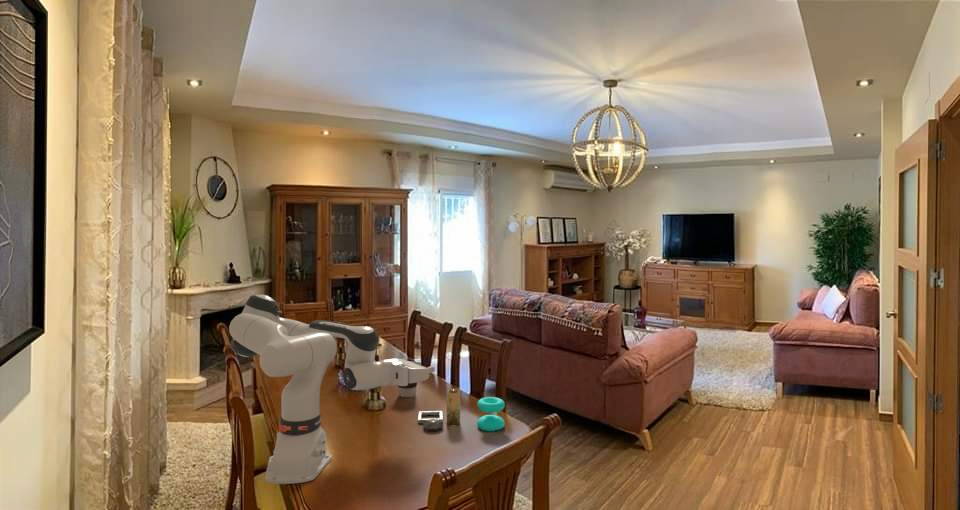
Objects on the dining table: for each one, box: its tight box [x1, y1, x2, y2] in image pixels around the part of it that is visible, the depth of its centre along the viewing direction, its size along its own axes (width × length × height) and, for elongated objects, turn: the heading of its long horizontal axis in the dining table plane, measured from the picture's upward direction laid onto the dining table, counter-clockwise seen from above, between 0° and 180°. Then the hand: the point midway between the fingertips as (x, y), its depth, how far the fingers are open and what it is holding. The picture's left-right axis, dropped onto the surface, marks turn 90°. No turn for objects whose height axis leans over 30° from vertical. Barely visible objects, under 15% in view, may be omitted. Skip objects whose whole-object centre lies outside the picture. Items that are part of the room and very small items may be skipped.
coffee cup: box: [397, 358, 418, 399], centre depth 225 cm, size 10×10×15 cm
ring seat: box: [417, 410, 444, 425], centre depth 198 cm, size 9×9×1 cm
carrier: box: [422, 417, 444, 433], centre depth 191 cm, size 12×7×2 cm, turn 5°
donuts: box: [476, 396, 506, 432], centre depth 190 cm, size 10×10×10 cm
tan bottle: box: [446, 388, 461, 426], centre depth 193 cm, size 5×5×13 cm
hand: (426, 366), depth 186 cm, fingers open, 8 cm apart
